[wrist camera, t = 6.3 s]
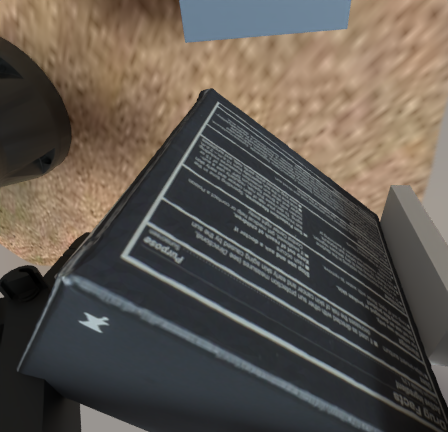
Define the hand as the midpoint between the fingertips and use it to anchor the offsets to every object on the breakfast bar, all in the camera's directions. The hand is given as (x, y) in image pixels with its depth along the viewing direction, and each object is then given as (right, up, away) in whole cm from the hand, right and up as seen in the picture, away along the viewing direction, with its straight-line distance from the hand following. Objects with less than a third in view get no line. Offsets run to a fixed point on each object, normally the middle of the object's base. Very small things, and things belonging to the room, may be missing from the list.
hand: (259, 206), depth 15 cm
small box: (0, +1, +1) cm, 1 cm away
